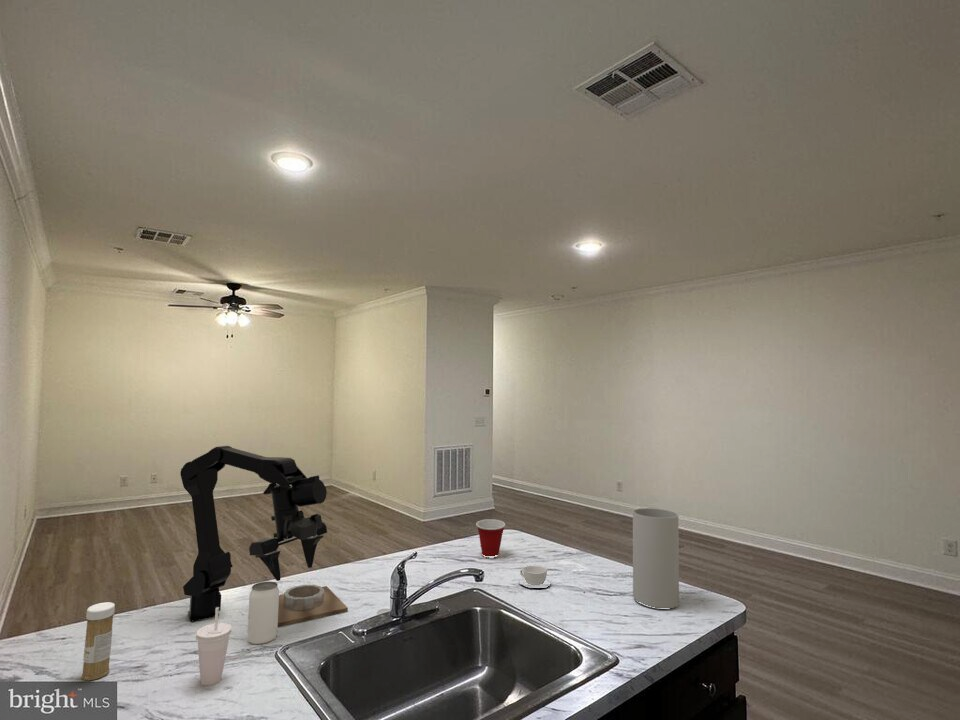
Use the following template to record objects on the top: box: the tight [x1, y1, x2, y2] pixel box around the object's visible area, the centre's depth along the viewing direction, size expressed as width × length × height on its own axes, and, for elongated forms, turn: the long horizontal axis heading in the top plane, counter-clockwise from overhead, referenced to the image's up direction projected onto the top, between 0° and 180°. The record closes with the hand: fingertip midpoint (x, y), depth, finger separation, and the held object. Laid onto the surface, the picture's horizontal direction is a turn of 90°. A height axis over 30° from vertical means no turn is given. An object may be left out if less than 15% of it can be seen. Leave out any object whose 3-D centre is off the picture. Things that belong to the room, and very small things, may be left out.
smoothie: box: [195, 607, 233, 686], centre depth 100 cm, size 6×6×14 cm
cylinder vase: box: [632, 507, 680, 609], centre depth 145 cm, size 12×12×25 cm
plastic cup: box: [475, 518, 506, 556], centre depth 183 cm, size 11×11×12 cm
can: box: [246, 580, 280, 646], centre depth 118 cm, size 6×6×12 cm
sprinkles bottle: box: [81, 601, 116, 681], centre depth 101 cm, size 5×5×14 cm
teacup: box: [519, 564, 548, 585], centre depth 156 cm, size 10×10×5 cm
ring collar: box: [283, 584, 324, 611], centre depth 135 cm, size 10×10×3 cm
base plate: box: [277, 585, 349, 628], centre depth 135 cm, size 18×18×1 cm
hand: (294, 573), depth 123 cm, fingers open, 9 cm apart
